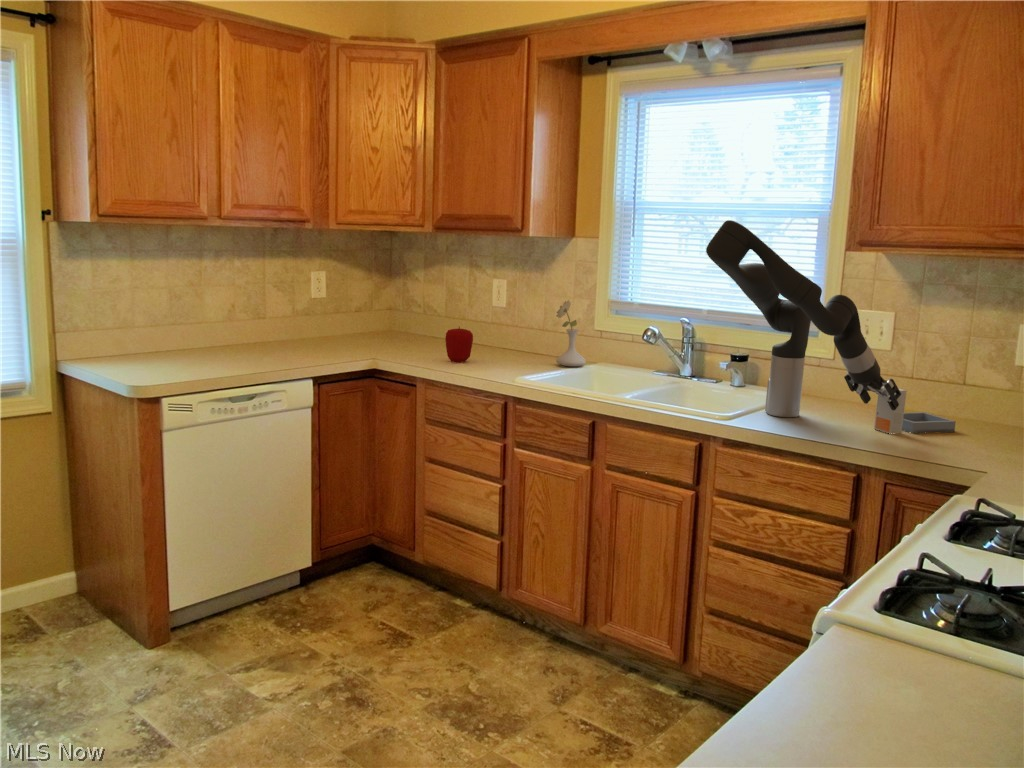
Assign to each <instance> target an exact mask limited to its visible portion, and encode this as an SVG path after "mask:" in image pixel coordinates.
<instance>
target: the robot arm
mask: <svg viewBox="0 0 1024 768" xmlns="http://www.w3.org/2000/svg"><path fill="white" fill-rule="evenodd" d="M750 250H752V251H753V252H754V253H755V254H756V255H757V256H758V257H759V259H760V260H761V262H762V263H760V262H749V263H748V262H747V263H741V262H742V260H743V259H744V258H745V256H746V255H747V254H748V253H749V251H750ZM705 252H706V255H707V256H708V257H709V259H710V260H711V261H712V262H713V263H714V264H715V265H716V266H718V268H720V269H721V270H722V271H723V272H724V273H725V274H726V275H727V276H729V278H731V280H732V281H733V282H734V283H735V284H736V285H737V286H738V287H739V288H740V289H741V291H742V292H743V293H744V294H745V296H746V297H747V298H748V299H749V300H750V301H751V302H752V303H753V304H754V305H755V306H756V308H758V310H759V311H760V312H761V314H762V315H763V317H764V318H765V320H766V321H767V324H768V325H769V326H770V327H771V328H772V330H774V331H777V332H780V333H782V332H783V333H787V334H788V333H789V334H790V338H789V339H788V340H786V341H784V342H780V343H776V344H773V346H772V348H771V356H770V367H769V368H770V370H769V379H768V380H767V386H766V394H765V395H766V396H765V397H766V398H765V407H764V411H765V412H766V414H767V415H770V416H774V417H781V418H797V417H799V416H800V411H801V410H800V409H801V402H802V401H801V400H802V391H803V383H804V381H803V379H804V370H805V360H806V358H805V357H806V351H807V348H808V342H809V335H810V328H811V323H813V325H814V326H815V327H816V328H817V329H818V330H819V331H820V332H822V333H823V334H825V335H827V336H831V337H833V343H834V346H835V348H836V350H837V351H838V354H839V355H840V358H841V361H842V364H843V366H844V367H845V370H846V372H847V373H846V374H845V375H844V376H843V378H844V380H845V382H846V384H847V387H848V388H849V391H851V392H855V393H856V394H857V395H859V397H860V399H861V400H862V402H863V403H864V404H866V405H867V404H869V403H870V401H871V399H872V398H871V395H870V394H869V392H873V393H875V394H876V395H877V396H878V395H879V396H880V397H884V398H885V399H886V400H887V402H888V404H889V406H890V408H891V410H896V408H897V407H898V406H899V403H898V401H897V399H898V398H899V397H900V395H901V392H900V391H899V389H900V388H899V389H898V386H897V384H896V381H895V380H894V379H893V378H889V379H888V380H885V379H884V378H883V376H882V375H881V366H880V365H879V363H878V362H879V361H878V360H877V359H876V358H877V357H876V356H875V355H874V353H873V351H872V348H871V347H870V346H869V344H868V343H867V341H866V338H865V337H864V334H863V333H862V329H861V326H862V325H861V321H860V316H859V315H860V314H859V311H858V308H857V306H856V304H855V302H854V301H853V300H852V299H851V298H850V297H848V296H847V295H844V294H836V295H833V296H832V297H830V298H829V299H828V301H827V302H826V304H825V305H824V304H823V303H822V302H821V297H822V292H823V290H822V288H821V286H820V285H818V284H817V283H816V282H814V281H812V280H811V279H810V278H808V277H807V276H805V275H803V274H802V273H801V272H799V271H798V270H797V269H795V268H794V267H792V266H791V265H790V264H789V263H788V262H787V261H785V260H784V259H783V258H782V257H781V256H780V255H778V253H777V252H776V251H775V250H773V249H772V248H771V247H769V245H768V244H767V243H765V242H764V241H762V239H761V238H759V237H758V236H757V235H756V234H755V233H754V232H752V231H751V230H750V229H748V228H747V227H746V226H744V225H743V224H741V223H739V222H737V221H735V220H729V219H728V220H725V221H724V222H723V223H722V225H721V226H720V227H719V229H718V230H717V231H716V233H715V234H714V236H713V237H712V238H711V240H709V242H708V244H707V246H706V248H705ZM780 296H782V297H784V299H782V298H779V297H780ZM882 387H884V390H883V391H882V392H880V391H879V390H880V389H881V388H882ZM886 392H888V393H889V396H887V395H886Z"/></svg>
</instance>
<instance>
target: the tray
mask: <svg viewBox="0 0 1024 768" xmlns="http://www.w3.org/2000/svg"><path fill="white" fill-rule="evenodd" d="M955 429H956V420H953V419H949V418H946V417H942V416H939V415H937V414H935V415H934V414H931V413H928V412H924V411H921V412H920V411H917V412H916V411H915V412H904V416H903V425H902V431H903V430H905V431H904V432H906V431H908V432H907V433H909V432H911V433H910V434H912V433H915V434H928V433H927V432H941V433H955ZM925 432H926V433H925Z"/></svg>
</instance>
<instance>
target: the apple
mask: <svg viewBox="0 0 1024 768" xmlns="http://www.w3.org/2000/svg"><path fill="white" fill-rule="evenodd" d="M473 341H474V334H473V333H472V331H471V330H469V329H466V328H461V327H460V325H459V326H458V328H451V329H448V330H447V331H446V333H445V350H446V354H447V357H448V359H449V360H450V361H451V362H452V363H455V364H457V363H459V364H460V363H464V362H466V361H467V360H468V359H469V358H470V357H471V352H472V348H473V343H474V342H473Z"/></svg>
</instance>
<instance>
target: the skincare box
mask: <svg viewBox="0 0 1024 768" xmlns="http://www.w3.org/2000/svg"><path fill="white" fill-rule="evenodd" d="M898 389H899V391H900V392H901V395H900V397H899V398H898V399H897V401H898V403H899V406H898V407H897V408H896V410H891V408H890V406H889V404H888V402H887V400H886V399H885V398H884V397H880V396H879V395H877V402H876V410H875V417H874V418H875V419H874V428H873V430H875V429H876V430H875V431H879V430H880V431H879V432H882V433H885V432H886V433H885V434H888V433H890V434H889V435H894V434H893V433H901V434H902V432H903V430H902V425H903V416H904V413H905V408H906V407H905V406H906V401H907V400H906V398H907V391H908V390H906V389H902V388H898ZM883 390H884V386H882V388H881V389H880V390H879V391H880V392H882V391H883ZM886 395H887V396H889V393H888V392H886ZM891 433H892V434H891Z"/></svg>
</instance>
